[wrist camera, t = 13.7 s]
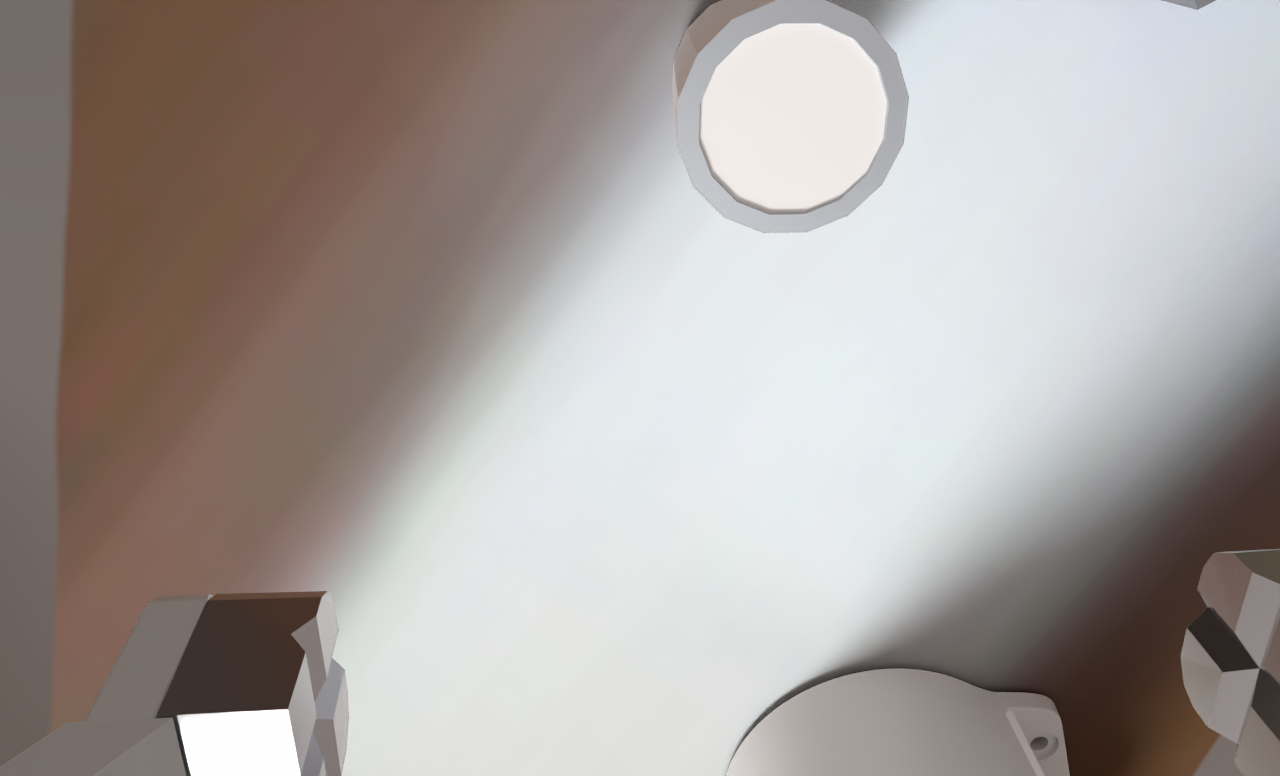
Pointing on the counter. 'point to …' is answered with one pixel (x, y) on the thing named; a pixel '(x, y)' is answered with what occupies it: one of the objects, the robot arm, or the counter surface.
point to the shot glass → (787, 111)
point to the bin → (1191, 3)
